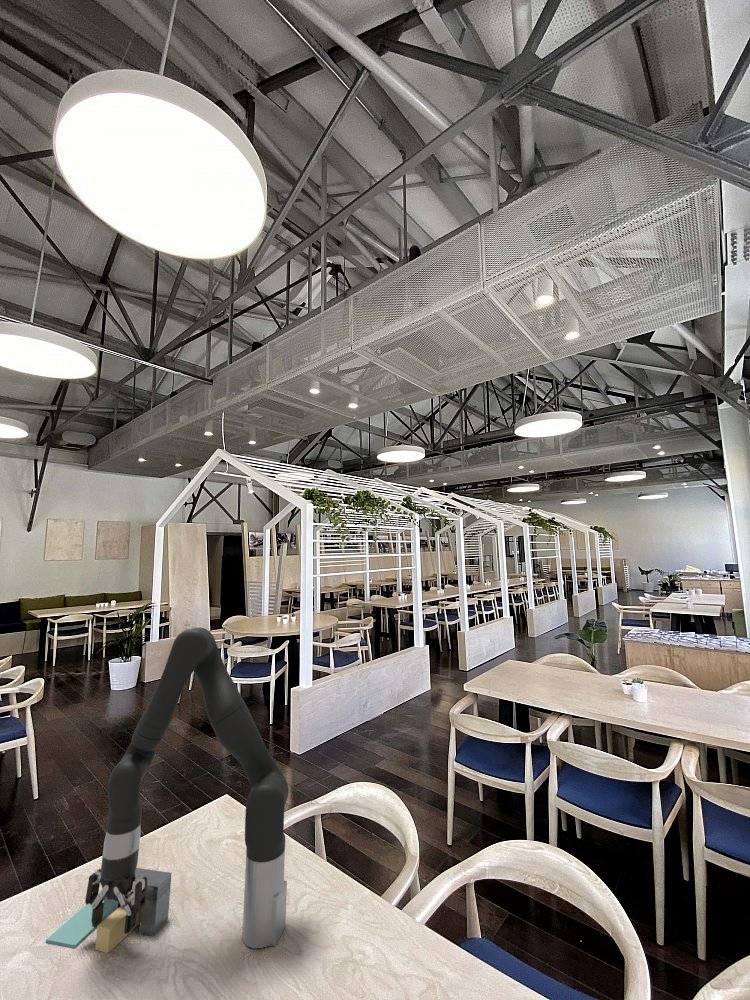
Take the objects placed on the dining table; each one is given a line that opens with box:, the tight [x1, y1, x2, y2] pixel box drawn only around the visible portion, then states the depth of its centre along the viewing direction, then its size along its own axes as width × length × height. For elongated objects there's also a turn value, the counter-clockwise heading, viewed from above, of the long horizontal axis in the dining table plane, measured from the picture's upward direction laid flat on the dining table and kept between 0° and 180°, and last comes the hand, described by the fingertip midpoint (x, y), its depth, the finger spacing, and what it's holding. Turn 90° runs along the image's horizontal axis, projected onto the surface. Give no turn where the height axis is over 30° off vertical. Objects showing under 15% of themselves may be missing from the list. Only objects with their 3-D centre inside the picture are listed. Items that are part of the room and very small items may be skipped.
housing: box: [102, 867, 172, 936], centre depth 104 cm, size 14×5×10 cm, turn 79°
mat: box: [45, 901, 104, 949], centre depth 105 cm, size 8×15×1 cm, turn 169°
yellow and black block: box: [95, 901, 141, 954], centre depth 102 cm, size 5×13×6 cm, turn 163°
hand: (112, 927), depth 98 cm, fingers open, 8 cm apart
